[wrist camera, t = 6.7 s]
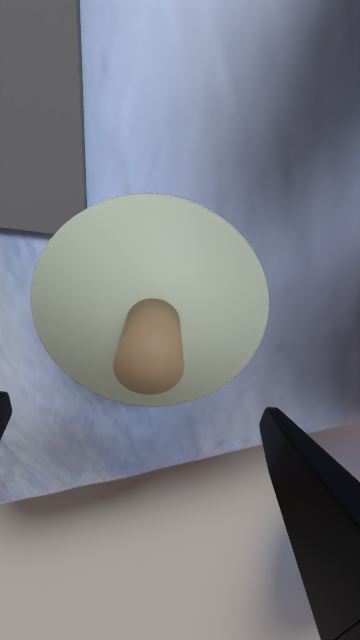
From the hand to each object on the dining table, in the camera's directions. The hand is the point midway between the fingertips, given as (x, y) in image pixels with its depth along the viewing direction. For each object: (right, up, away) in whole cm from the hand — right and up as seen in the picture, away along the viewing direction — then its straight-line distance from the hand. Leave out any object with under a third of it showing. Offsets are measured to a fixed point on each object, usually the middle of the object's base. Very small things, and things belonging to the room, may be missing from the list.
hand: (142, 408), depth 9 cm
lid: (0, +3, +6) cm, 7 cm away
